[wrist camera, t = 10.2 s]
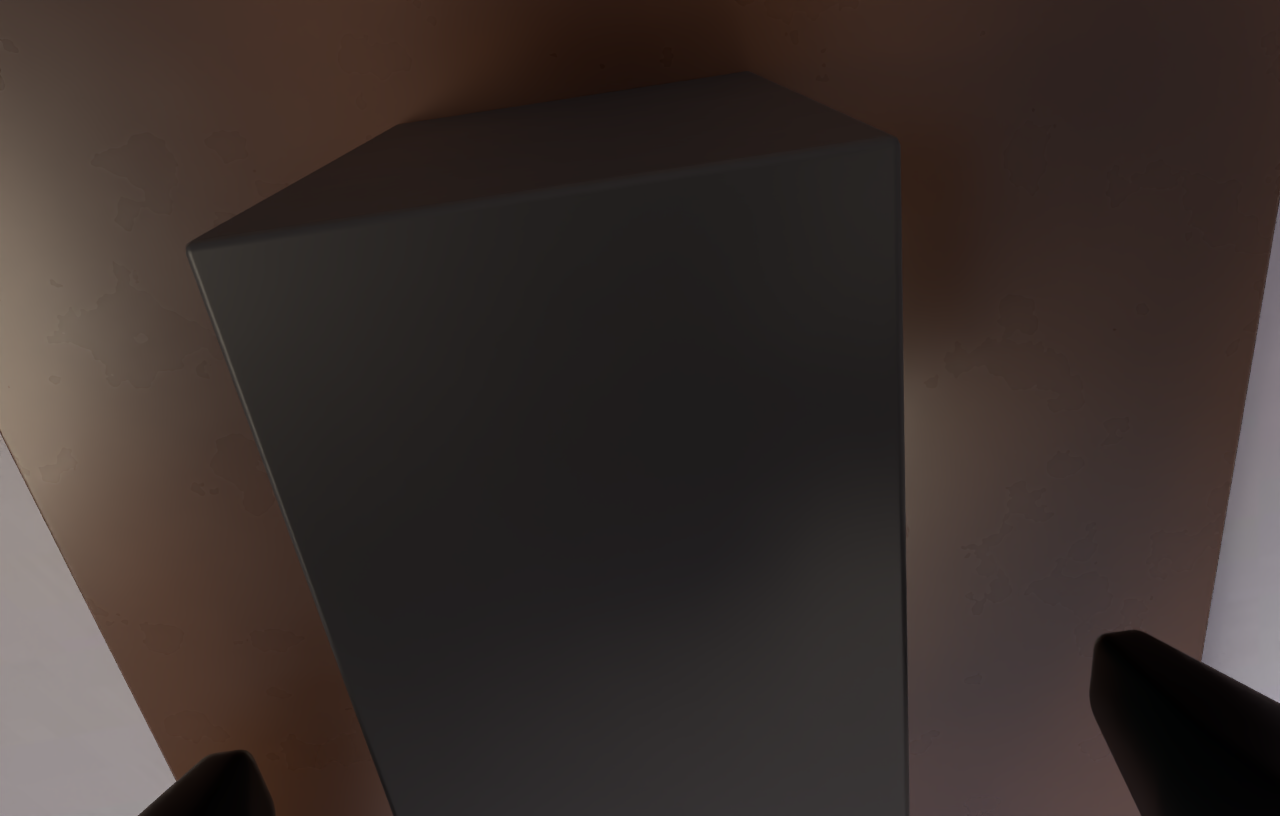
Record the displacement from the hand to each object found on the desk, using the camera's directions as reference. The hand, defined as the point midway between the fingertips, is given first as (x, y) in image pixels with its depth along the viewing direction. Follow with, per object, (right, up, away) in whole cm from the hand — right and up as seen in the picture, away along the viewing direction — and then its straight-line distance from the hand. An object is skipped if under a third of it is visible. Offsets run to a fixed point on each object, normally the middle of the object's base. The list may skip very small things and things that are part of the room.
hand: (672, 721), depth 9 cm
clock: (0, +2, +4) cm, 4 cm away
